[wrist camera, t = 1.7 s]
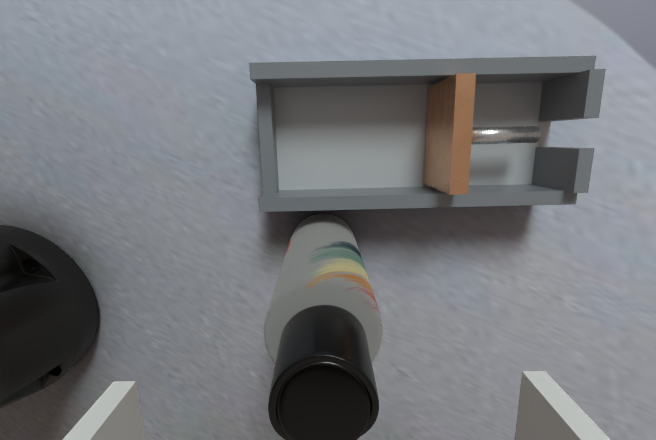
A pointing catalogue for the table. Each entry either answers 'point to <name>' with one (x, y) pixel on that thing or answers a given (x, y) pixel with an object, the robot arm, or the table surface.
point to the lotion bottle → (323, 336)
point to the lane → (416, 132)
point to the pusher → (459, 133)
